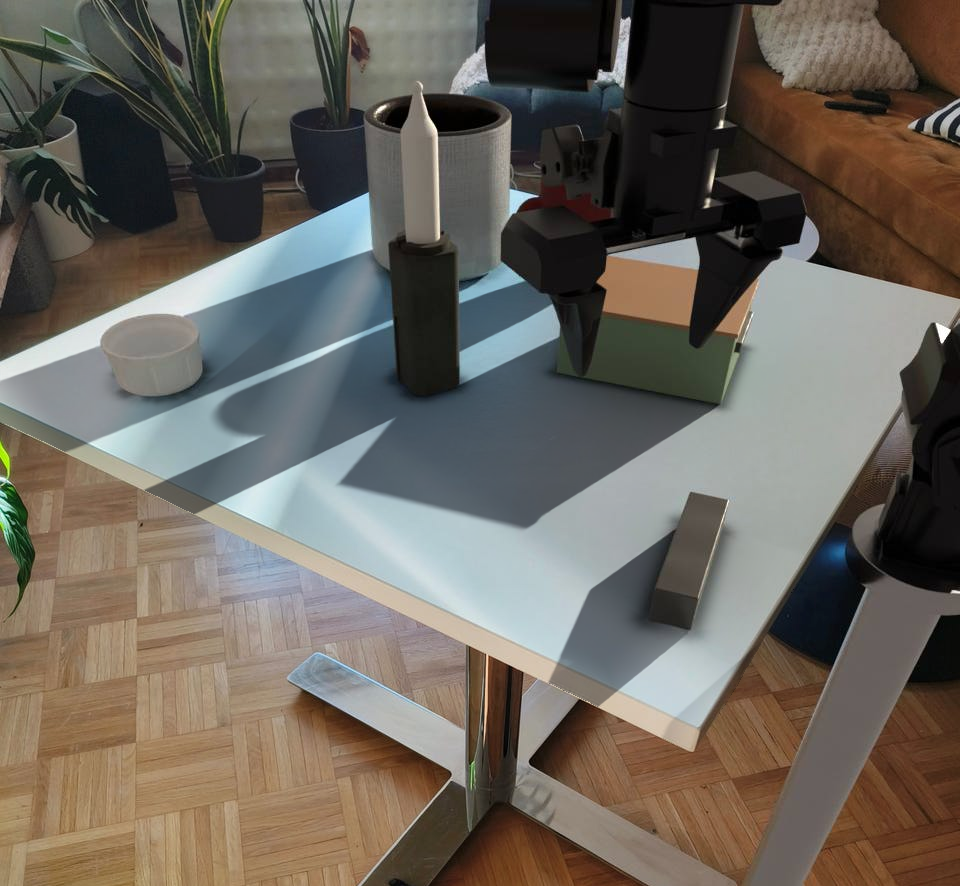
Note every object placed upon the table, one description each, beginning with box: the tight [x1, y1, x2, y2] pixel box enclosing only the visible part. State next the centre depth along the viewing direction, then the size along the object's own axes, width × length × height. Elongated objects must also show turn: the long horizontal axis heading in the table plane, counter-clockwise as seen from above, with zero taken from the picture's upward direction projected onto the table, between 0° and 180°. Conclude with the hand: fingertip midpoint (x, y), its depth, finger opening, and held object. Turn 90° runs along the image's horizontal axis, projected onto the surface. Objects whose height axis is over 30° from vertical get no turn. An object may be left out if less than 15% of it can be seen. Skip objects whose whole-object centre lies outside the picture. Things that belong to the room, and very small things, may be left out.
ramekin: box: [99, 313, 204, 397], centre depth 84 cm, size 9×9×4 cm
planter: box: [363, 92, 512, 282], centre depth 101 cm, size 16×16×16 cm
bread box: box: [556, 255, 760, 405], centre depth 87 cm, size 17×12×7 cm
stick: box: [648, 491, 730, 631], centre depth 65 cm, size 12×3×3 cm, turn 159°
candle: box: [388, 80, 461, 397], centre depth 77 cm, size 5×5×25 cm
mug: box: [515, 177, 611, 256], centre depth 99 cm, size 12×9×11 cm
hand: (638, 360), depth 60 cm, fingers open, 9 cm apart
